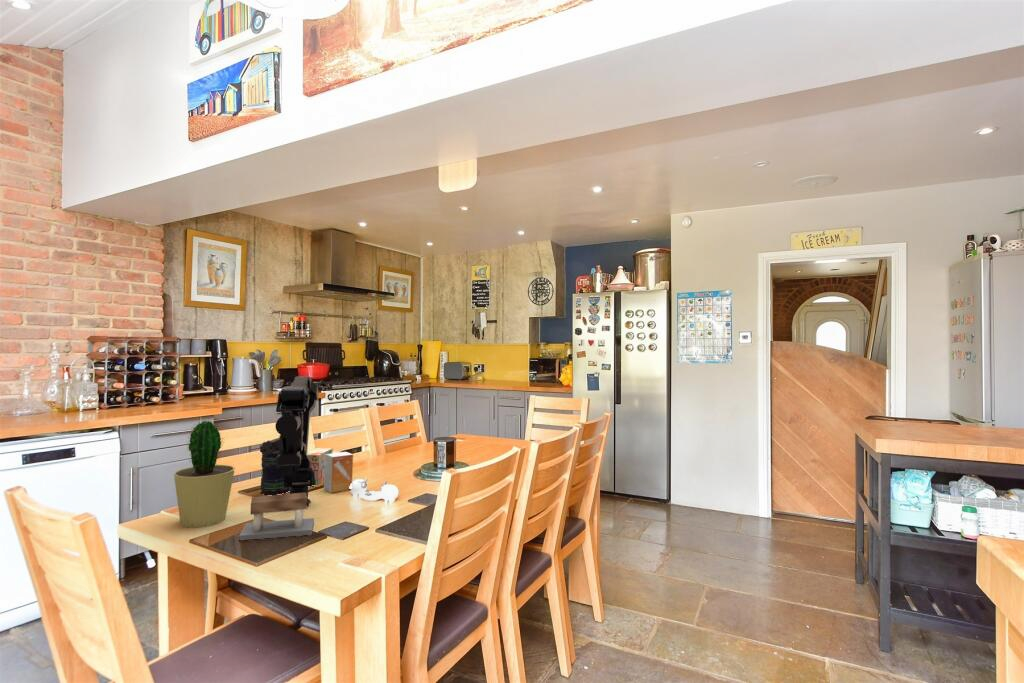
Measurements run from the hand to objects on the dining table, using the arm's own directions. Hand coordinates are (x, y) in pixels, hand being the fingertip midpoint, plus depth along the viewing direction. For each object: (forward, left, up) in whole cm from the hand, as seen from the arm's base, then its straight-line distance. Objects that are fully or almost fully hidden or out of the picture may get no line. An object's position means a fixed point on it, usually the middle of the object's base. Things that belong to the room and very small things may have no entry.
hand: (290, 481), depth 149 cm
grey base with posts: (+8, -2, -12) cm, 14 cm away
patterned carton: (-48, +7, -12) cm, 50 cm away
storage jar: (-34, -8, -12) cm, 37 cm away
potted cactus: (-7, -24, -12) cm, 28 cm away
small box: (-32, +13, -12) cm, 37 cm away
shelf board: (+8, -2, -5) cm, 10 cm away
